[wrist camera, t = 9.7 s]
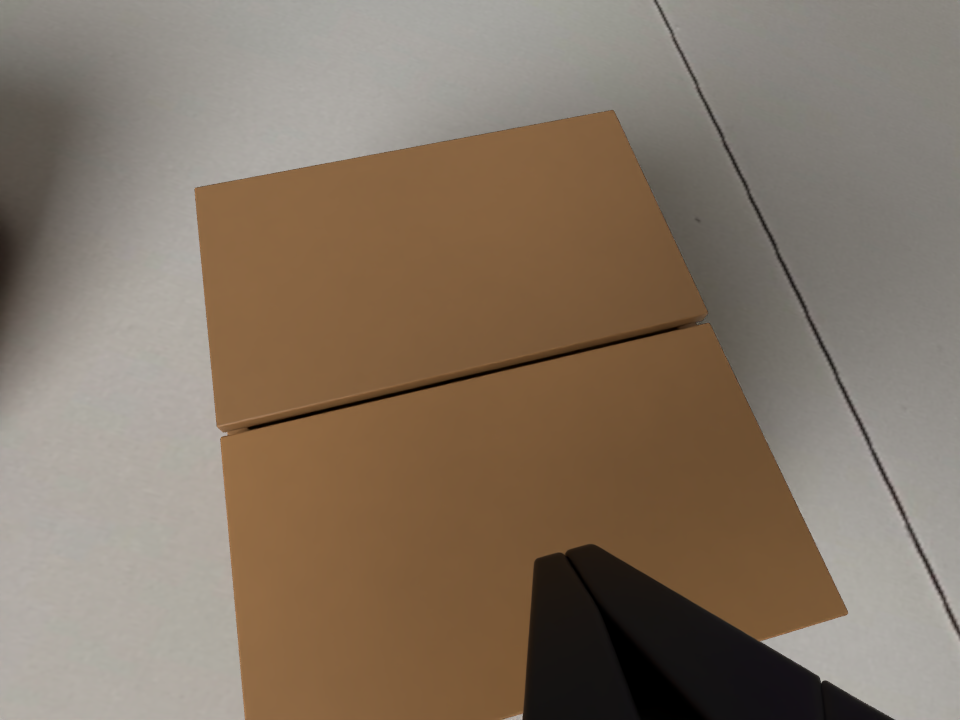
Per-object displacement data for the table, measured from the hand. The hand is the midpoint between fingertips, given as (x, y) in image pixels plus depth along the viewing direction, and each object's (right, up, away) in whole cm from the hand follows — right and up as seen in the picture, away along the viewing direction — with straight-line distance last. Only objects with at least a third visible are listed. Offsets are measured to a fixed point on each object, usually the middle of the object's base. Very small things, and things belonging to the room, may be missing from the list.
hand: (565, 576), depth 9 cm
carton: (-1, -1, +13) cm, 13 cm away
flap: (0, 0, +4) cm, 4 cm away
